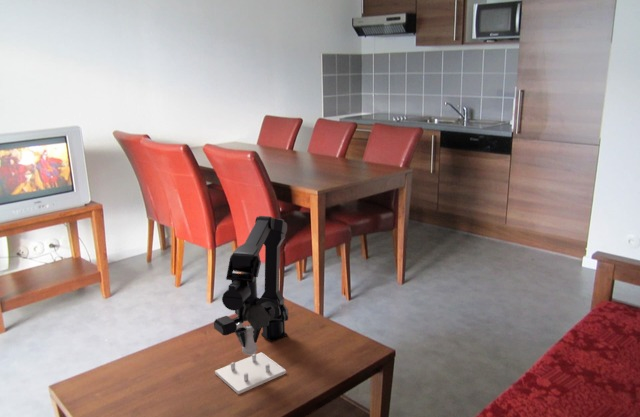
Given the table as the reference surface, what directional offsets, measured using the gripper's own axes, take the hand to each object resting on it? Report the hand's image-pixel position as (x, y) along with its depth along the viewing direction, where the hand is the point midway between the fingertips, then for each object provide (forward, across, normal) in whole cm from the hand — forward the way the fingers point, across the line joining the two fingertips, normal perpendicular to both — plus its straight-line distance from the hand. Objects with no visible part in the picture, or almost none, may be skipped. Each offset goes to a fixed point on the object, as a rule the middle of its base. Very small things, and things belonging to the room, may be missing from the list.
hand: (249, 344), depth 155 cm
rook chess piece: (+2, 0, 0) cm, 2 cm away
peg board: (+9, 0, 0) cm, 9 cm away
